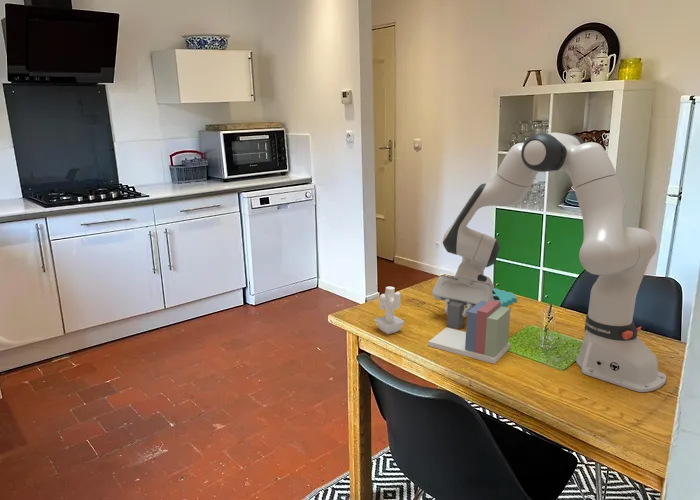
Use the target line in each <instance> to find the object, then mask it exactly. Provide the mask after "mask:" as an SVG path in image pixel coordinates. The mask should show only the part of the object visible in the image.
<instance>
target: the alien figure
mask: <svg viewBox="0 0 700 500" xmlns="http://www.w3.org/2000/svg"><path fill="white" fill-rule="evenodd" d="M492 293H493V300H496V301H501V306H502V307H507V308H509V305H513V304H515V303H517V302H518V297H517V296H516V295H515V294H514V293H513V292H512V291H506V290H505V289H499V288H495V287H494V290H493V291H492ZM464 308H465V309H466V308H467V306H466V305H464ZM472 308H473V307H472Z"/></svg>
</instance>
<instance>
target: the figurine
mask: <svg viewBox="0 0 700 500" xmlns="http://www.w3.org/2000/svg"><path fill="white" fill-rule="evenodd" d="M395 289H396V288H395V287H394V286H385V291H384V293H382V294H380V295H379V302H378V304H379V310H382V311H383V310H385V311H384V315H385V316H384V315H383V316H379V317H375V318H374V319H373V320H374V322H375V323H376V326H377V327H378V328H379V331H381V332H383V333H385V334H387V335H389V334H393V333H398V332H399V331H400V330H401V329H402V327H403V325H404V323H405V322H406V321H405V320H403V319H402V318H399V317H397V316H396V315H395V309H396V310H399V309H400V307H401V304H402V303H401V299H402V298H401V297H402V294H401V292H400V291H396V292H395Z"/></svg>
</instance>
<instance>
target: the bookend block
mask: <svg viewBox="0 0 700 500" xmlns="http://www.w3.org/2000/svg"><path fill="white" fill-rule="evenodd" d="M461 310H465V305H464V303H461V302H456V301H452V302H451V303H449V304H448V312H447V313H446V328H451V329H455V330H460V329H461V328H462V327H463V326H464V317H461V316H460V313H461Z"/></svg>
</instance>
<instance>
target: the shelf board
mask: <svg viewBox="0 0 700 500" xmlns="http://www.w3.org/2000/svg"><path fill="white" fill-rule="evenodd" d="M510 319H511V308H510V307H502V306H501V301H496V300H490V301H489V302H486V301H480V302H479V303H478V304H476V305H475V306H474V307H473V308H471V309H470V310H469V311H467V314H466V327H465V331H462V330H460V329H458V330H457V329H453V328H449V327H445V328H444V329H443V330H441V331H440V332H439V333H437V334H436V335H435V336H433V337H432V338H431V339H430V340H428V344H427V345H428V347H432V348H435V349H438V350H442V351H446V352H448V353H449V352H450V353H452V354H456V355H460V356H464V357H468V358H471V359H475V360H479V361H482V362H486V363H490V364H492V365H495V364H496V363H497V362H498V361H499V360H500V359H501V358H503V356H504V355H505V354H506V353H507V351H508V350H509V349H510V348H511V342H509V331H510V321H511V320H510Z"/></svg>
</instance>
